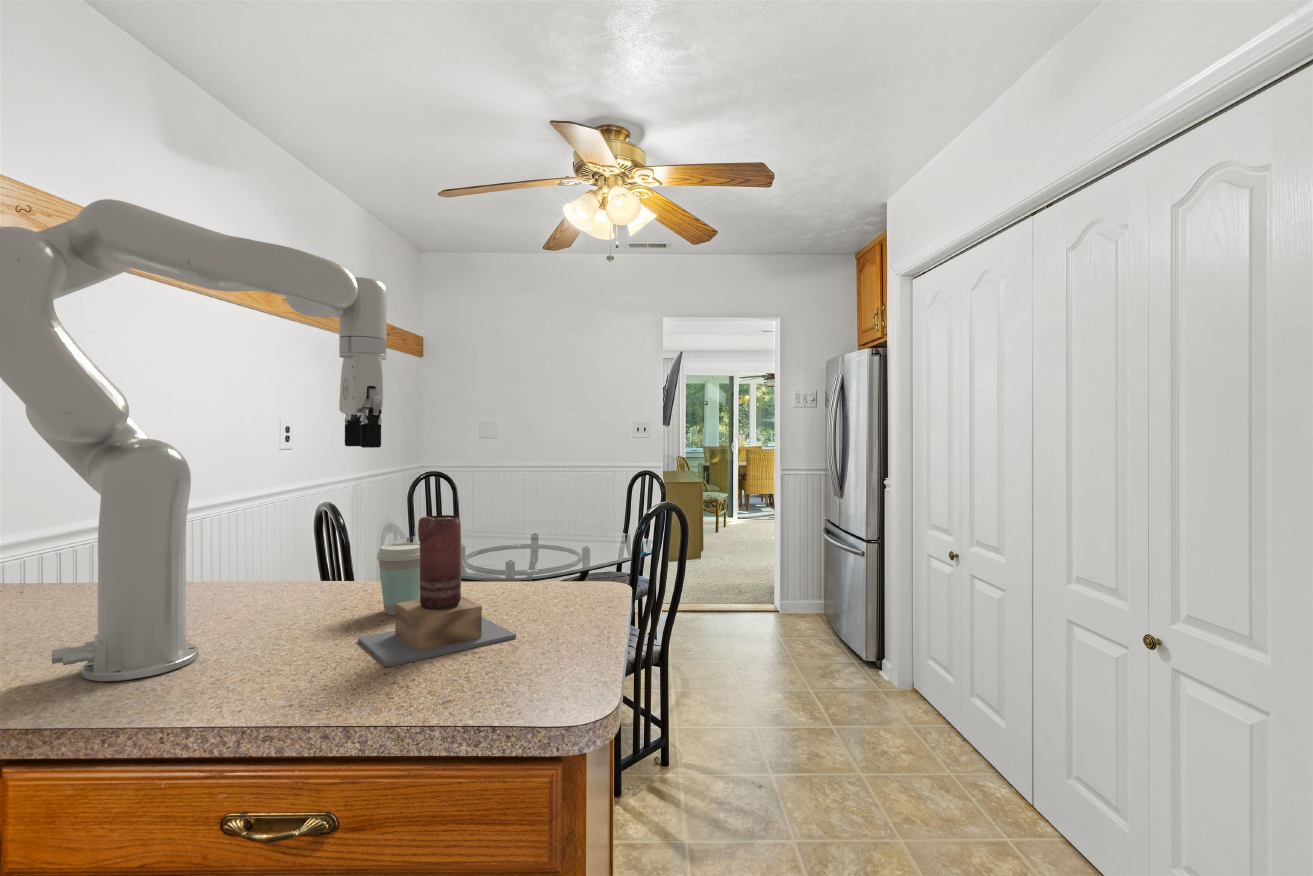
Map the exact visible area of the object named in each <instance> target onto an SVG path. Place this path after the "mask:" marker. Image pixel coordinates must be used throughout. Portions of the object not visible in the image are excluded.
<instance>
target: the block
mask: <svg viewBox="0 0 1313 876" xmlns="http://www.w3.org/2000/svg"><path fill="white" fill-rule="evenodd" d="M482 606H483V605H481V604H479V603H476V602H474V601H472V600H470V599H469V598H466V597H464V596H462V595H461V600H460V602H459V603H458V605H456V606H454V607H451V608H446V609H435V610H434V609H425V608H423V607H422V605H421V604H420V599H419V600H412V601H406V602H400V603H395V615H394V616H395V617H394V618H395V619H394V621H395V624H394V625H395V626H394V631H395V635H397V636H398V637H399V638H401V639H402V640H403V641H405V642H406V643H407V644H409V645H410V646H411V647H413V648H414V649H415V650H417V651H422V650H426V649H431V648H436V647H440V646H445V645H449V644H454V643H459V642H463V641H468V640H473V639H477V638H481V636H482V617H483V616H482V614H483V613H482V612H483V611H482V609H483V608H482Z"/></svg>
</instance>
